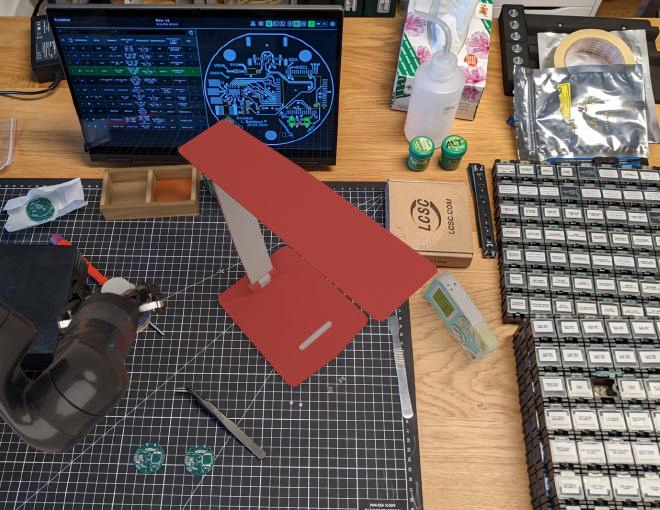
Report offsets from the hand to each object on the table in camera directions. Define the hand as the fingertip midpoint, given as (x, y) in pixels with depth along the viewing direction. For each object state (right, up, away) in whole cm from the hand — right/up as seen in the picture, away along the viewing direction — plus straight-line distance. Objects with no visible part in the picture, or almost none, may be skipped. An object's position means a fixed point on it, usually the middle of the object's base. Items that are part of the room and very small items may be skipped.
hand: (121, 290), depth 90 cm
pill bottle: (0, -5, +4) cm, 6 cm away
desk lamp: (+25, -7, +17) cm, 31 cm away
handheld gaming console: (+51, -8, +17) cm, 55 cm away
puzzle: (+10, +18, +31) cm, 37 cm away
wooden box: (-4, +16, +30) cm, 34 cm away
